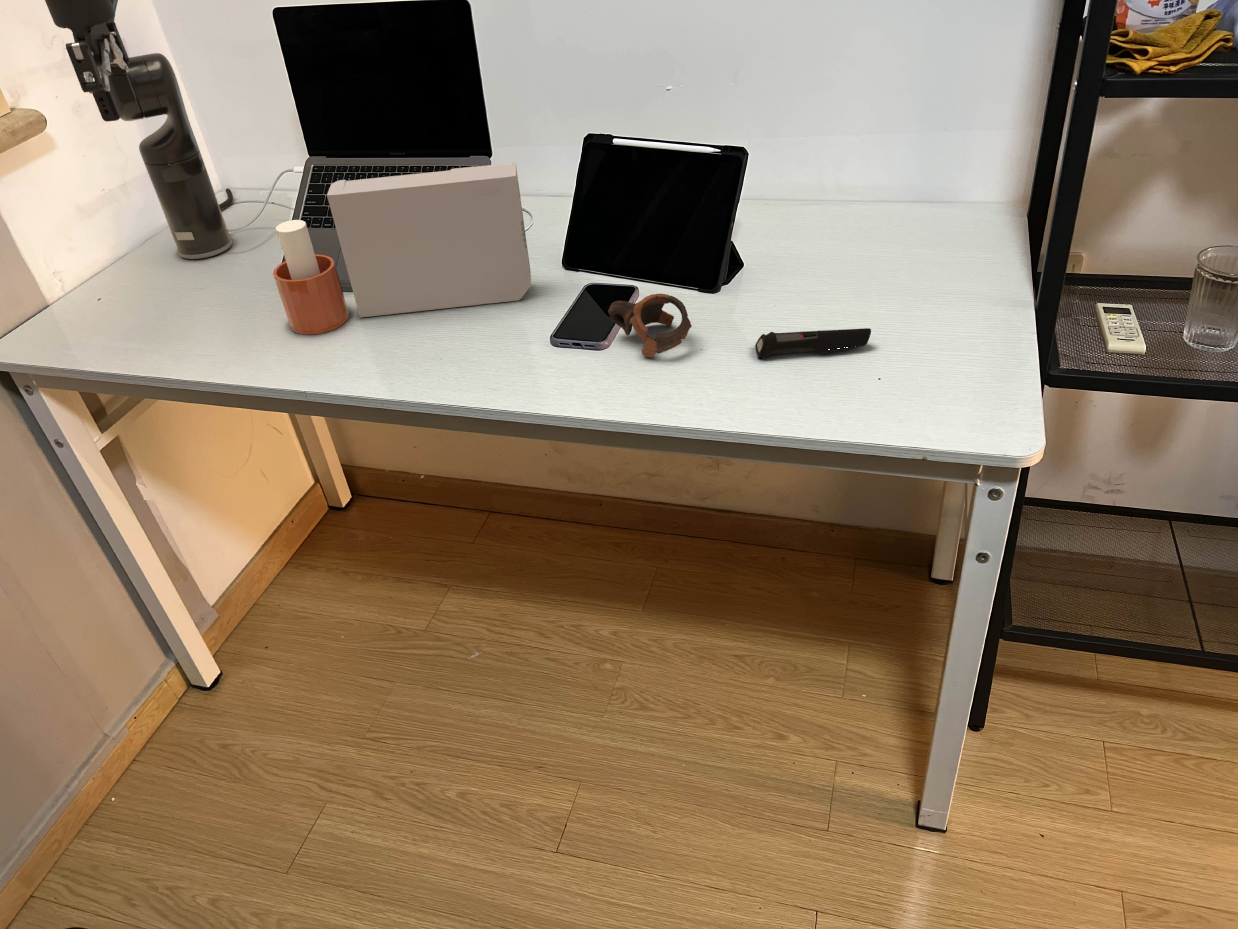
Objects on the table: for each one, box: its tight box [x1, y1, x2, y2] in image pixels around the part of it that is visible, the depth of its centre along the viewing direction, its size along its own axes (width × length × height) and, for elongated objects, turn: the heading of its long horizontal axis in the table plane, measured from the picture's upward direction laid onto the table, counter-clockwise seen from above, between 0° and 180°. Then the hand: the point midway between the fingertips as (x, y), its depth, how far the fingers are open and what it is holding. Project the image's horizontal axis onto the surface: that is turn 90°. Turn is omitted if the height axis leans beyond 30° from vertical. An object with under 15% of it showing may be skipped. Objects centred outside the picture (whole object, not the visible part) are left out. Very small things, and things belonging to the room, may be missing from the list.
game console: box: [326, 161, 532, 318], centre depth 141 cm, size 6×27×20 cm, turn 96°
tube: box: [275, 219, 320, 280], centre depth 139 cm, size 4×4×15 cm
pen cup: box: [272, 253, 350, 336], centre depth 141 cm, size 9×9×9 cm
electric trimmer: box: [754, 327, 872, 360], centre depth 127 cm, size 4×16×3 cm, turn 90°
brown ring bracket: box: [607, 293, 693, 359], centre depth 131 cm, size 12×10×8 cm
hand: (121, 110), depth 129 cm, fingers open, 8 cm apart
